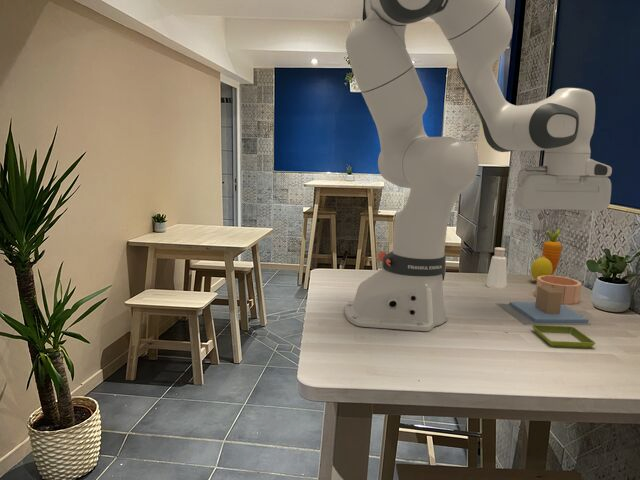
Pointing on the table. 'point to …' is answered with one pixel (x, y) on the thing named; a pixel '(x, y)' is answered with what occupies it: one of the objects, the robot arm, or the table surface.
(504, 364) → the table surface
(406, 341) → the table surface
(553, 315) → the lid
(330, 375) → the table surface
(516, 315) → the mat
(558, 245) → the carrot
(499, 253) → the salt shaker
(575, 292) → the bowl
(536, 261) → the lemon
